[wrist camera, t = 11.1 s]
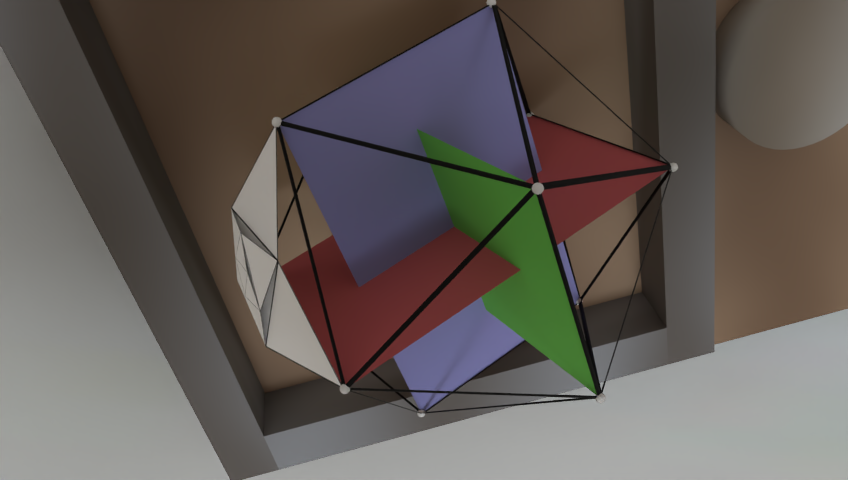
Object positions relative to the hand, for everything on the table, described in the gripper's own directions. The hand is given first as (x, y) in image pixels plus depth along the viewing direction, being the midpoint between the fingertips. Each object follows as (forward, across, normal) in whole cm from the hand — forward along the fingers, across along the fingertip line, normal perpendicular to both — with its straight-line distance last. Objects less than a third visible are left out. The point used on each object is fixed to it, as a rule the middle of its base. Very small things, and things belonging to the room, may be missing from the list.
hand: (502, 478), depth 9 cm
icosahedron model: (+9, -1, 0) cm, 9 cm away
